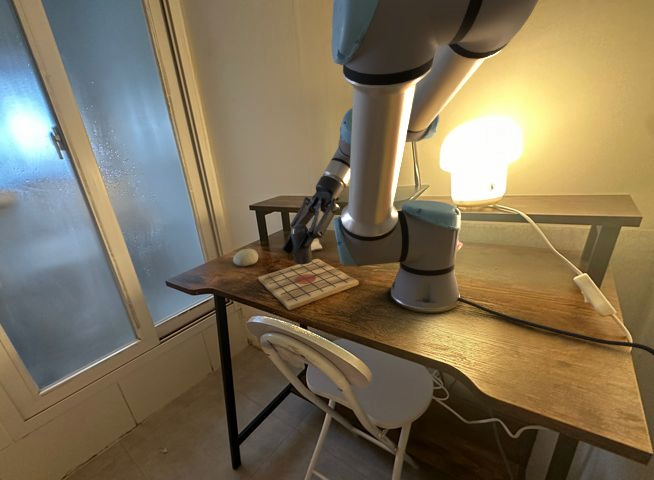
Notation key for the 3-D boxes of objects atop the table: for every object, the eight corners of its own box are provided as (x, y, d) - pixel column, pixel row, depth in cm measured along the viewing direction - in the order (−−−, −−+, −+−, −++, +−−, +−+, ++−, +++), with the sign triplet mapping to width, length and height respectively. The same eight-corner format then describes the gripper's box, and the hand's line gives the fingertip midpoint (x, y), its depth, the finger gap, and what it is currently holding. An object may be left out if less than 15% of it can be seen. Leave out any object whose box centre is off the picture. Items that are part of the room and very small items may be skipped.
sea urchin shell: (226, 260, 110) (236, 241, 111) (241, 269, 116) (250, 250, 117) (241, 265, 104) (251, 245, 105) (256, 274, 109) (265, 254, 110)
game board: (358, 284, 85) (358, 280, 84) (289, 310, 78) (288, 306, 77) (317, 261, 103) (317, 258, 103) (258, 280, 96) (258, 276, 96)
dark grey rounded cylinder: (315, 261, 86) (312, 223, 81) (299, 266, 85) (295, 228, 80) (306, 255, 91) (303, 220, 86) (291, 260, 89) (286, 224, 84)
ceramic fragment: (317, 243, 119) (317, 233, 118) (329, 244, 116) (328, 234, 115) (298, 256, 110) (297, 247, 108) (311, 258, 107) (310, 248, 105)
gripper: (364, 192, 79) (319, 269, 80) (321, 187, 94) (283, 252, 94) (348, 175, 75) (301, 256, 75) (305, 173, 89) (266, 241, 90)
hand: (291, 254), depth 85 cm, fingers closed on dark grey rounded cylinder, 5 cm apart
